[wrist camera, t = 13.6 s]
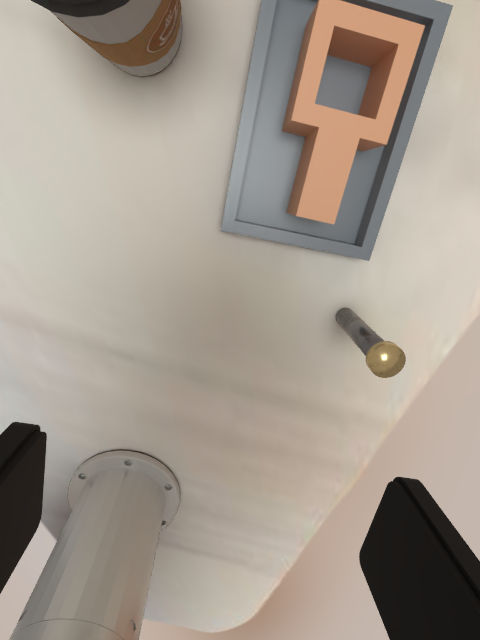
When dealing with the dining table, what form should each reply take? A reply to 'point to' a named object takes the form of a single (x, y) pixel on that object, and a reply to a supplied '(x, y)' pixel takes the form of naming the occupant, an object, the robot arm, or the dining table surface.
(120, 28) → the coffee cup
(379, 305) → the dining table surface
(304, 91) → the orange flat handled frame
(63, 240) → the dining table surface
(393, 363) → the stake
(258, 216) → the tray
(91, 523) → the robot arm
